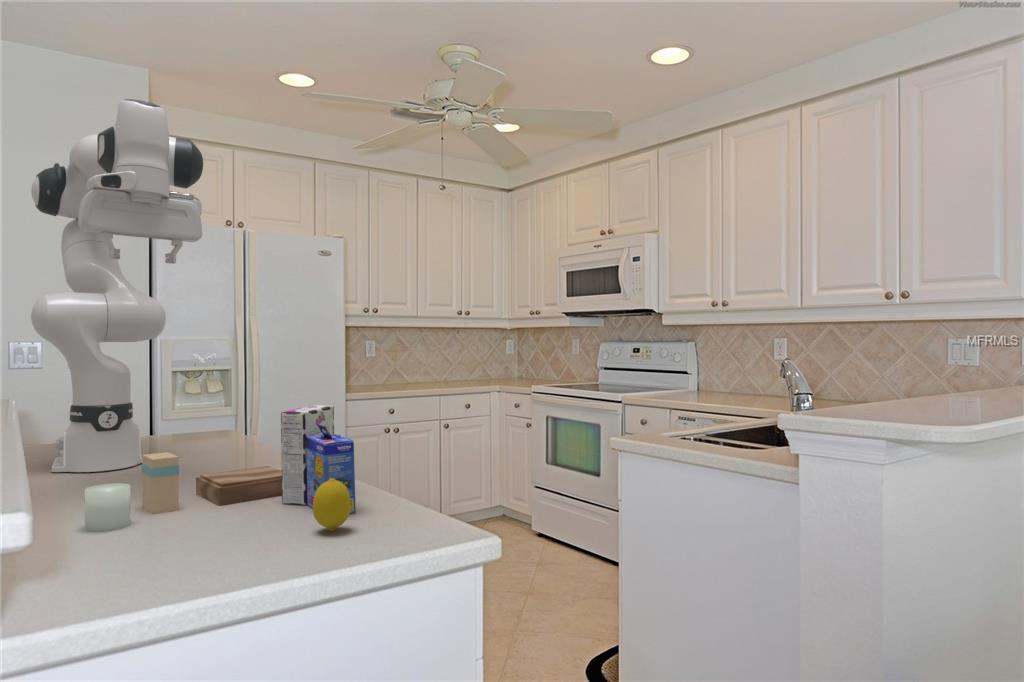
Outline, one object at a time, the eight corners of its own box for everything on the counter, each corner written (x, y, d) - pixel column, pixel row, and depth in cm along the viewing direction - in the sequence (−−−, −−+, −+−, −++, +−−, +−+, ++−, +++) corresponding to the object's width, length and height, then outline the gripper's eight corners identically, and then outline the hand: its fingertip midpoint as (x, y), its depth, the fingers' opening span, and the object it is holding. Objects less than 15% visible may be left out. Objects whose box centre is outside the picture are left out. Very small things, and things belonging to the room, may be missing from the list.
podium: (196, 493, 123) (196, 474, 123) (269, 482, 132) (269, 465, 132) (219, 505, 114) (219, 485, 114) (296, 492, 123) (296, 474, 123)
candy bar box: (311, 490, 126) (311, 404, 126) (335, 491, 125) (335, 405, 125) (279, 504, 115) (279, 410, 115) (305, 506, 114) (305, 411, 114)
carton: (141, 507, 113) (142, 454, 113) (167, 503, 116) (167, 452, 116) (152, 514, 108) (152, 459, 108) (178, 509, 111) (178, 456, 111)
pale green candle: (81, 525, 102) (81, 487, 102) (124, 518, 106) (125, 481, 106) (89, 534, 97) (89, 493, 97) (134, 526, 101) (135, 487, 101)
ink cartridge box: (304, 505, 114) (304, 422, 114) (335, 501, 117) (335, 420, 117) (324, 518, 106) (324, 428, 106) (356, 513, 109) (356, 426, 109)
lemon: (315, 538, 95) (315, 483, 95) (310, 528, 100) (310, 476, 100) (353, 534, 98) (354, 480, 97) (347, 524, 103) (347, 473, 103)
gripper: (196, 198, 132) (196, 267, 132) (75, 181, 118) (76, 258, 118) (207, 192, 128) (207, 264, 127) (83, 174, 114) (83, 254, 113)
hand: (143, 261), depth 123 cm, fingers open, 8 cm apart
